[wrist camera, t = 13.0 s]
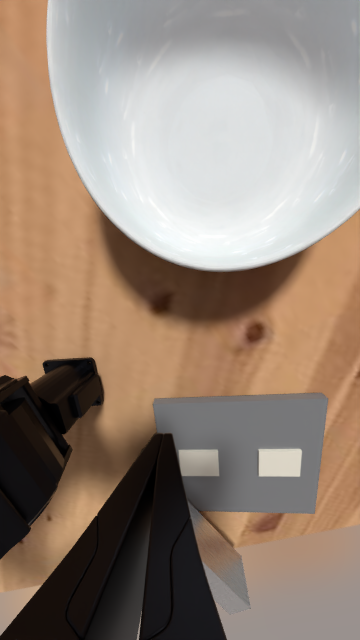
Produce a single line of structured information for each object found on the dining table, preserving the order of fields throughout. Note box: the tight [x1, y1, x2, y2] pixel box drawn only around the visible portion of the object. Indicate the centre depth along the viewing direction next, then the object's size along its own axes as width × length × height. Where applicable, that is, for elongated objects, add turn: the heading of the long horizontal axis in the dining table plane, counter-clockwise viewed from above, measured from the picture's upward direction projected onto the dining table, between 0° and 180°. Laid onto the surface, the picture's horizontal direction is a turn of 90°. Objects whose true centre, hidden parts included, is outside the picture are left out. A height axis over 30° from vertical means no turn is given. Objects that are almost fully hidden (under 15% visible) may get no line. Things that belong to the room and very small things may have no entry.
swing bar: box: [132, 464, 251, 614], centre depth 21 cm, size 22×4×4 cm, turn 38°
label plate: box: [140, 393, 328, 514], centre depth 22 cm, size 23×18×2 cm
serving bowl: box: [47, 0, 360, 272], centre depth 12 cm, size 21×21×7 cm
